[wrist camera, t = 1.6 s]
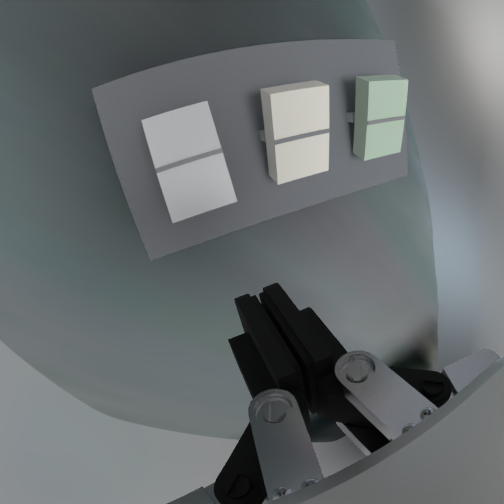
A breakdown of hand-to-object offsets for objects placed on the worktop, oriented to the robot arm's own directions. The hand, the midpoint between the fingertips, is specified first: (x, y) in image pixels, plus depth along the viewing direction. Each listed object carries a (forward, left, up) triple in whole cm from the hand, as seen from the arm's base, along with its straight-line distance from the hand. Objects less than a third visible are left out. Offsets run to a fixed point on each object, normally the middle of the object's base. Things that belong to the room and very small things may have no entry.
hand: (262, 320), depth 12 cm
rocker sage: (-4, +16, -12) cm, 20 cm away
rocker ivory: (-4, +8, -12) cm, 15 cm away
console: (-4, +8, -20) cm, 22 cm away
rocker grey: (-4, 0, -12) cm, 13 cm away
